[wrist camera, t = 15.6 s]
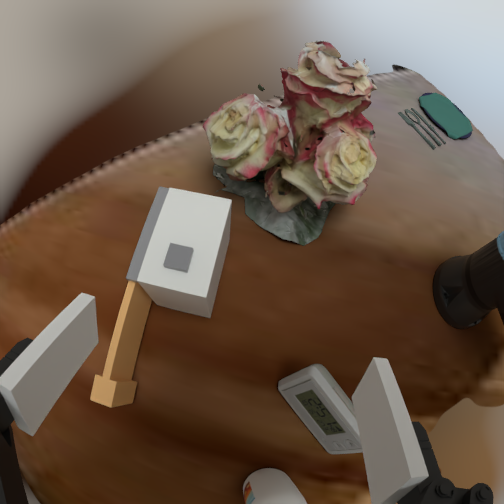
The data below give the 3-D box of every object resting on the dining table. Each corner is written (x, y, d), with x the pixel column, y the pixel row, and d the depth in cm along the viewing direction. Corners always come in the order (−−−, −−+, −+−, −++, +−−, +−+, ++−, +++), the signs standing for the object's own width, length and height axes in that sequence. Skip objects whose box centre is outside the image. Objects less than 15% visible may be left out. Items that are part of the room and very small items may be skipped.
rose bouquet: (189, 184, 59) (174, 48, 31) (290, 118, 68) (318, 5, 41) (287, 279, 53) (351, 170, 26) (377, 188, 63) (448, 84, 35)
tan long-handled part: (132, 403, 41) (111, 407, 32) (115, 396, 41) (90, 399, 32) (159, 297, 48) (144, 277, 39) (141, 292, 48) (124, 272, 39)
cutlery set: (477, 134, 78) (480, 130, 76) (435, 157, 70) (439, 152, 68) (437, 93, 84) (440, 88, 82) (387, 106, 76) (390, 101, 74)
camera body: (210, 318, 49) (205, 295, 36) (147, 302, 49) (123, 275, 36) (230, 234, 55) (233, 189, 42) (173, 222, 55) (160, 176, 42)
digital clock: (272, 378, 46) (285, 378, 37) (322, 354, 49) (346, 347, 39) (313, 462, 41) (334, 480, 32) (360, 436, 43) (391, 446, 34)
